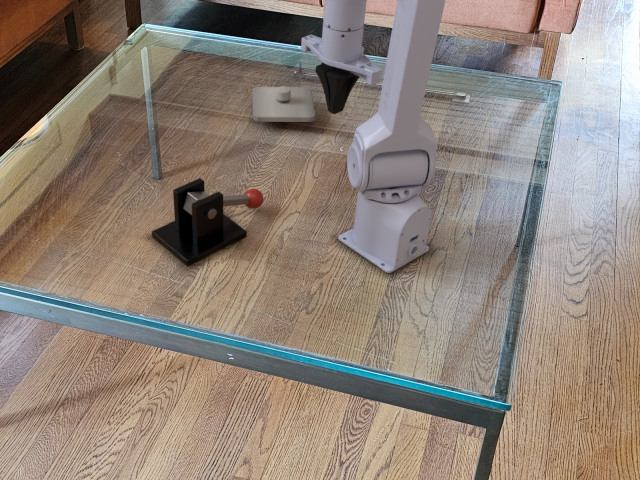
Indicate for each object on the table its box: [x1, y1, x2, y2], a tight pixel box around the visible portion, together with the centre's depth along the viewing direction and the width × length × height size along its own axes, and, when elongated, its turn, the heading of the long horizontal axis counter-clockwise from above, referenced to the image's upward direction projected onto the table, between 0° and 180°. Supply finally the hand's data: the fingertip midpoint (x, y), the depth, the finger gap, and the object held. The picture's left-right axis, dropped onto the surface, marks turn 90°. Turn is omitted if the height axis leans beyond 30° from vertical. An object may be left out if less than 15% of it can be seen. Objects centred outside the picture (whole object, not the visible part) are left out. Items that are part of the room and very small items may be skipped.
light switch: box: [251, 85, 316, 123], centre depth 135 cm, size 10×10×5 cm
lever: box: [183, 188, 264, 215], centre depth 113 cm, size 13×3×3 cm, turn 130°
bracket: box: [151, 177, 248, 267], centre depth 110 cm, size 10×8×7 cm
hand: (335, 110), depth 126 cm, fingers closed
